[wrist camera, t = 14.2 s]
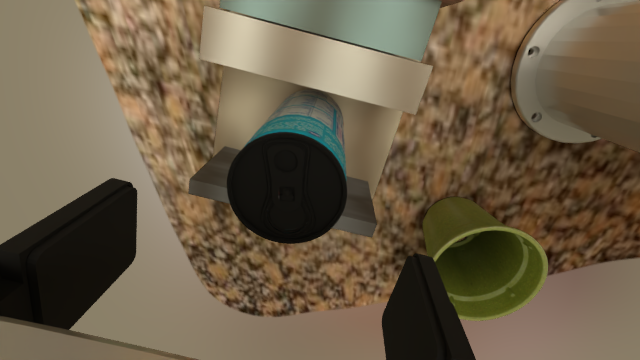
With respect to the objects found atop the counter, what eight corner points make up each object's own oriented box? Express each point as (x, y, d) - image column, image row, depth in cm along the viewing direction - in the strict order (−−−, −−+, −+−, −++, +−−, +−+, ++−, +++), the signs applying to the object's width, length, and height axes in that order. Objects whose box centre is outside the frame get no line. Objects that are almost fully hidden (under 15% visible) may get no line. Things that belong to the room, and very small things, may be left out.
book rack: (448, -30, 26) (518, -74, 16) (363, 218, 35) (373, 292, 25) (246, -87, 25) (184, -171, 15) (213, 182, 34) (160, 243, 24)
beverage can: (273, 145, 31) (221, 231, 17) (283, 81, 29) (232, 120, 15) (335, 158, 31) (332, 254, 17) (350, 96, 29) (361, 148, 15)
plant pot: (513, 235, 35) (565, 294, 27) (430, 272, 37) (455, 336, 29) (477, 164, 32) (523, 206, 24) (390, 209, 34) (405, 261, 26)
